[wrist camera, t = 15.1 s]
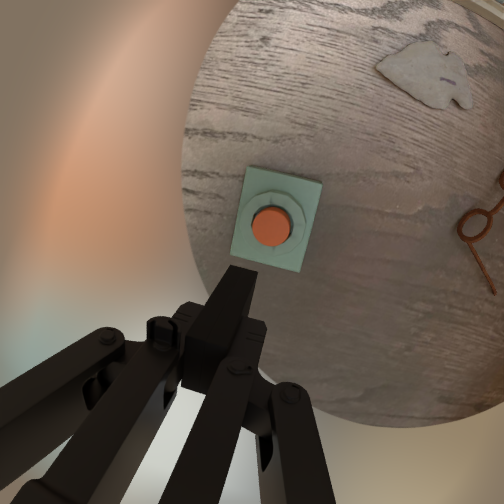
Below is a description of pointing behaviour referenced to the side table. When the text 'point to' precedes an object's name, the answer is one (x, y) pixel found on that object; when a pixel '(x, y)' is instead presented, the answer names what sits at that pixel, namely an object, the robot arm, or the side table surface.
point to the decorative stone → (429, 75)
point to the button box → (281, 196)
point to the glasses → (469, 240)
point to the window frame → (486, 9)
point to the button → (271, 226)
